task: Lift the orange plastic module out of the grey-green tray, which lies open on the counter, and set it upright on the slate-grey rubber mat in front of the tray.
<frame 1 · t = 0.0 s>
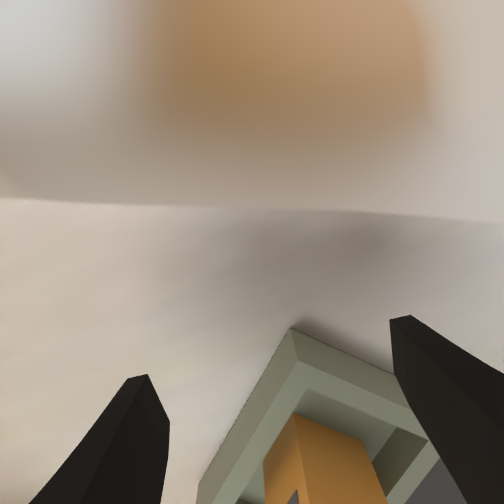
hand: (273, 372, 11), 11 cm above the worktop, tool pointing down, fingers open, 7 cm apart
grey-green tray: (309, 439, 25), on the worktop
module: (312, 451, 24), point 1 cm above the worktop, touching grey-green tray
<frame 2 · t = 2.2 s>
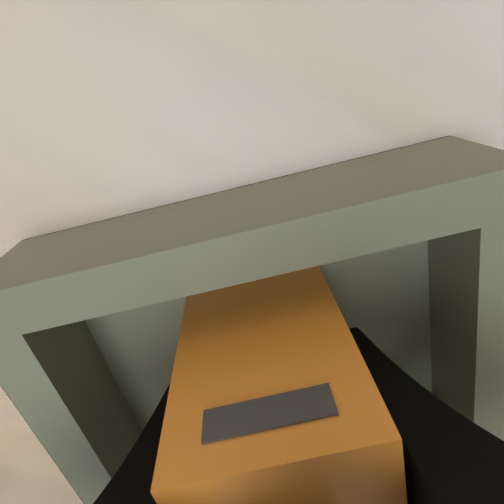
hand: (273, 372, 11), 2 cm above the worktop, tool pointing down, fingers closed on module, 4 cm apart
grey-green tray: (266, 324, 13), on the worktop
module: (268, 342, 12), point 1 cm above the worktop, touching grey-green tray, gripper
when the fingers open (3 cm above the worktop, at t = 6.5 s): module stays where it is, resting on mat.
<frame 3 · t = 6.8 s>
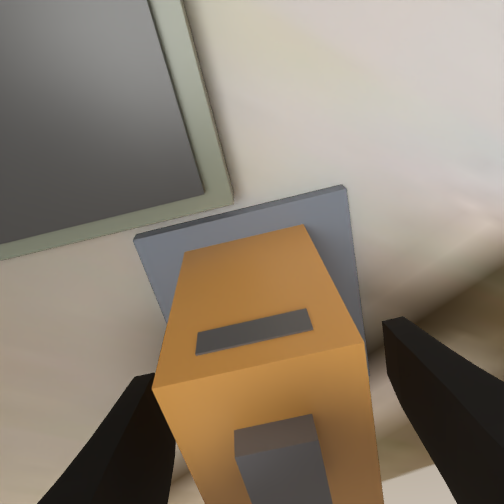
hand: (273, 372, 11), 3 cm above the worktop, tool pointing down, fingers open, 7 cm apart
mat: (263, 308, 14), on the worktop
module: (259, 300, 13), resting on mat
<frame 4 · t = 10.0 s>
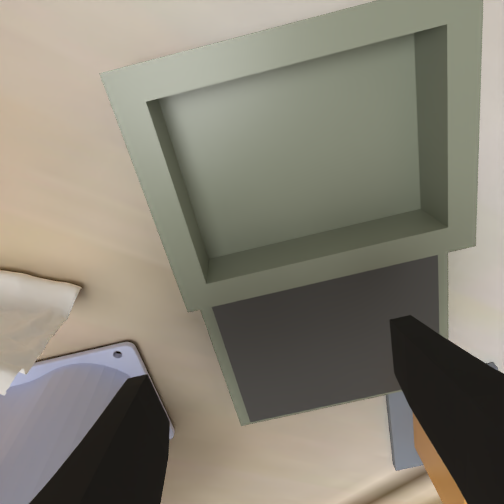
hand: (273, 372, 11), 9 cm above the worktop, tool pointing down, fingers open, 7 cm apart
mat: (439, 417, 26), on the worktop
grey-green tray: (296, 153, 18), on the worktop
module: (442, 416, 25), resting on mat
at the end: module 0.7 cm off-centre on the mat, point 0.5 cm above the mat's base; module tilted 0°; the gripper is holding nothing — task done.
